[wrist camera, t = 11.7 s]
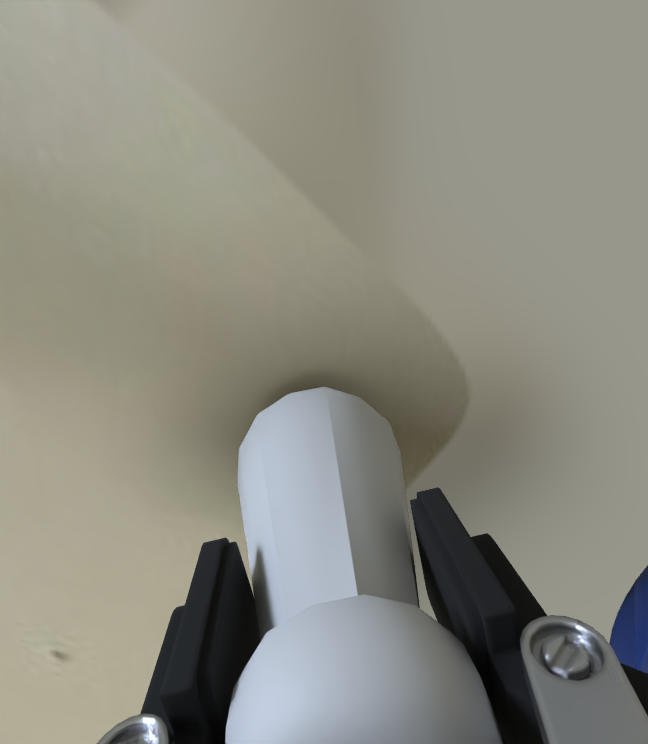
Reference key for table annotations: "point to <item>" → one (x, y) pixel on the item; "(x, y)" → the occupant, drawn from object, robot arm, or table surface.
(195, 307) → the table surface
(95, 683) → the table surface
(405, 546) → the salt shaker
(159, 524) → the table surface
